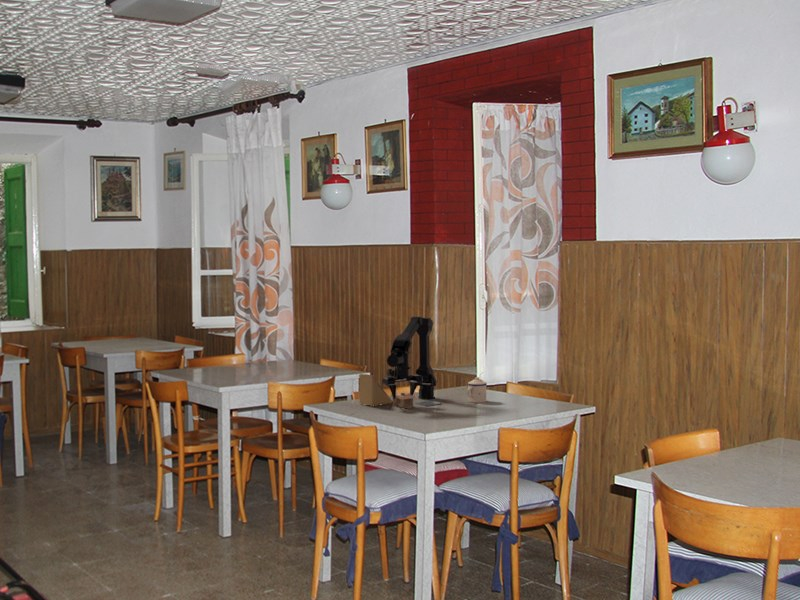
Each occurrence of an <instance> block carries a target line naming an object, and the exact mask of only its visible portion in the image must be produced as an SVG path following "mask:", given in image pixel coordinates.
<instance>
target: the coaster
mask: <svg viewBox="0 0 800 600" xmlns="http://www.w3.org/2000/svg"><path fill="white" fill-rule="evenodd" d="M415 404H416V405H420V406H424V407H431V406H441V405H442V404H443V403H441V402H439V401H435V400H425V401H416V402H415Z"/></svg>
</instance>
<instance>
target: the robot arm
mask: <svg viewBox="0 0 800 600" xmlns="http://www.w3.org/2000/svg"><path fill="white" fill-rule="evenodd" d="M409 320H410V321H409V323H407V326H406V327H405V329H404V331H403V332H402V333H400V334H398V335H397V336H396V337H395V338H394V339H393V342H392V345H391V349H390V355H388V357H387V359H386V362H387V366H389V367H391V368H388V369H387V370H386V375H387V376H385V377H383V378H382V380H381V383H382V384H385V386H387V387H388V388H389V390H390V393H391V394H392V396H393V397H392V396H391V397H392V399H393V398H394V399H395V398H396V393H397V384H396V383H400V382H409V394H410V395H414V393H415V391H416V389H417V388H418V387H419V389H418V396H417V397H418V399H423V400H429V399H436V397H435V394H434V393H435V392H434V391H435V389H434V388H435V387H436V386H437V383H438V381H437V379H436V377H435V375H434V370H433V368H432V366H431V364H430V335H431V333H432V331H433V327H434V321H433V320H432V319H431V318H430V317H422V316H412V317H411V318H410V319H409ZM416 333H417V335H418V339H419V341H418V348H419V353H418V354H419V355H418V356H419V366H418V368H416V369H415V374H409V373H410V370H411V367H410V366H409V355H410V354H411V352H410V349H411V347H412V339H413V337H414V336H415V334H416ZM392 368H394V369H392Z"/></svg>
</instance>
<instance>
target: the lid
mask: <svg viewBox="0 0 800 600" xmlns="http://www.w3.org/2000/svg"><path fill="white" fill-rule="evenodd" d="M390 397H392V398H393V396H392V393H391V394H390ZM396 398H399V399H412V398H413V399H416V398H415V395H414V394H413V395H410V393H407V392H396Z"/></svg>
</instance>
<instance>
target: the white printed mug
mask: <svg viewBox="0 0 800 600" xmlns="http://www.w3.org/2000/svg"><path fill="white" fill-rule="evenodd" d="M467 387H468V388H467V390H466V394H467V398H468V399H467V400H468V402H469V403H472V404H482V403H486V402H487V382H486V381H484V380H482V379H481V378H480V377H479V376H477V377H475V378H474V379H472V380H470V381H468V383H467Z"/></svg>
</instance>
